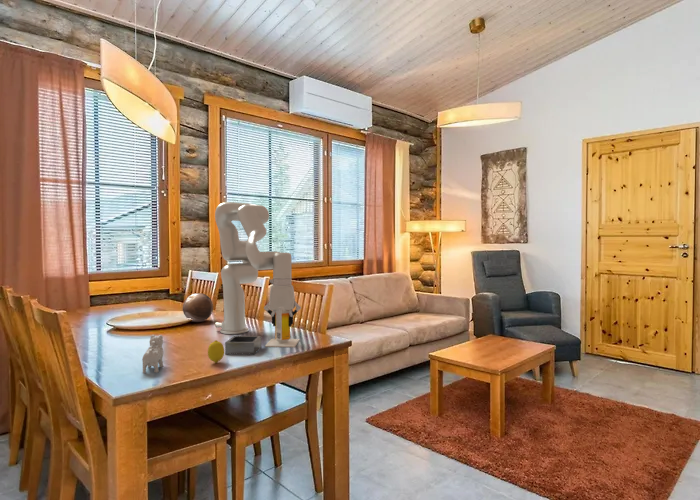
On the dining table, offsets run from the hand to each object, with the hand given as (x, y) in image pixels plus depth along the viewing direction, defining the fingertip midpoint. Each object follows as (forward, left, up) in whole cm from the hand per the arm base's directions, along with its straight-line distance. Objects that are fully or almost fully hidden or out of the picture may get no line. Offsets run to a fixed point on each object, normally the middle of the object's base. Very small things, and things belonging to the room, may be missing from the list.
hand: (282, 325), depth 185 cm
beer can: (0, 0, -6) cm, 6 cm away
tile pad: (0, 0, -7) cm, 7 cm away
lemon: (-18, -29, -8) cm, 35 cm away
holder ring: (-13, -12, -7) cm, 19 cm away
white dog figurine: (-37, -36, -8) cm, 52 cm away
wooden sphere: (-53, +45, -8) cm, 70 cm away
